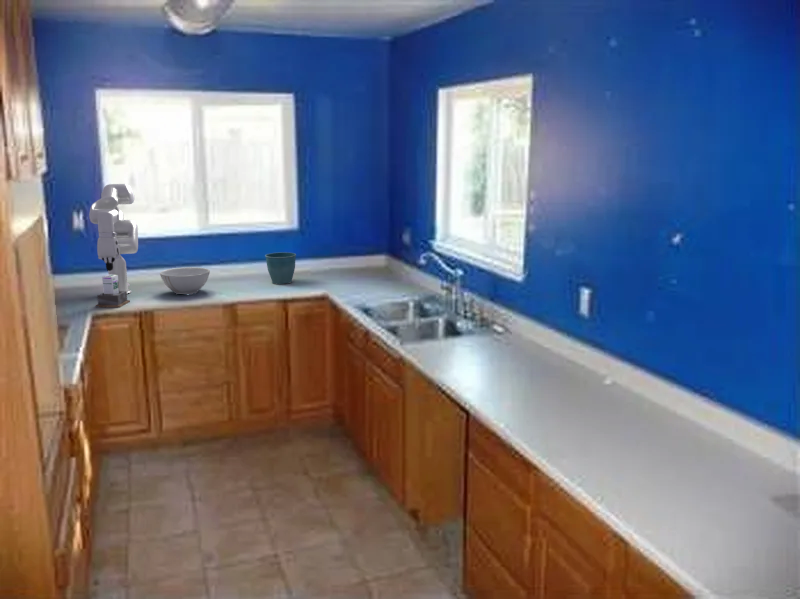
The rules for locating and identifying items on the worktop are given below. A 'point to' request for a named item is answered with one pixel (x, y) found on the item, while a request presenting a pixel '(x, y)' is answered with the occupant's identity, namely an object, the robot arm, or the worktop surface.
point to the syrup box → (110, 284)
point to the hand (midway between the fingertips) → (109, 270)
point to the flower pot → (281, 266)
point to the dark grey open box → (113, 300)
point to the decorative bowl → (185, 279)
